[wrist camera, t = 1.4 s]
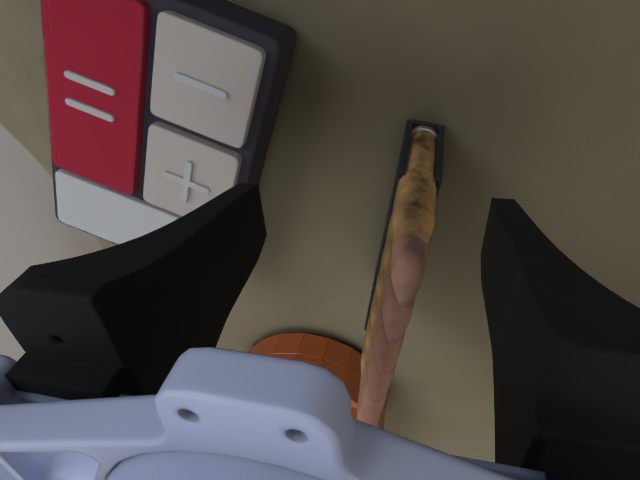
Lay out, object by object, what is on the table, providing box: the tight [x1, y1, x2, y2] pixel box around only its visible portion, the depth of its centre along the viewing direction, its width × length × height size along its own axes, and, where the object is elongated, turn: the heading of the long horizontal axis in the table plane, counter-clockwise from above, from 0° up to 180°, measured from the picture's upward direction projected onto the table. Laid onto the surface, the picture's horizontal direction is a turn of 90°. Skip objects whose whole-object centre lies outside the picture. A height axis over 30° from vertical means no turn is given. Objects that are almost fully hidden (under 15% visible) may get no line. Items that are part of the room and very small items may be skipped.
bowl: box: [249, 333, 388, 429], centre depth 35 cm, size 12×12×4 cm
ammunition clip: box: [357, 120, 445, 427], centre depth 21 cm, size 11×2×12 cm, turn 176°
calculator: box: [41, 0, 296, 245], centre depth 24 cm, size 11×4×15 cm
